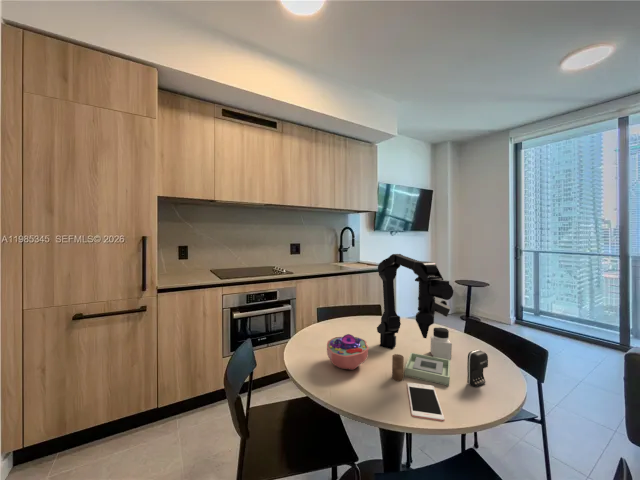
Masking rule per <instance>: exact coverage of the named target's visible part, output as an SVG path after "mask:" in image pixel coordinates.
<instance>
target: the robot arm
mask: <svg viewBox="0 0 640 480" xmlns="http://www.w3.org/2000/svg"><path fill="white" fill-rule="evenodd" d="M401 267H404V268H406V269H409V270H412V271H413V273H414V275H416V276H417V277H416V278H415V279H414V281H415V282H418V296H417V300H418V302H417V303H418V307H417V313H416V314H415V323H416V324H417V326H418V328H419V330H420V333H421V335H422V338H423V339H427V338H428V333H429V329H430V327H431V326H432V325H434V323H435V314H436V313H438V314H441V315H442V316H443V317H448V316H449V313H450V311H451V307H450V305H448V304H447V303H448V302H447V301H449V300H451V299H452V297H453V296H454V288H453V287H452V285H451V284H450V280H444V278H443V276H442V274H441V272H440V270H439V268H438V266H437V264H436V263H435V261H434V262H433V261H424V260H418V259H414V258H412V257H409V256H405V255H403V254H401V253H393V254H391V255H390V256H388V257H387V258H385V259H383V260H381V261H380V262H379V264H378V265H377V271H378V276H379V277H380V279H381V280H382V293H383V295H382V296H383V313H382V315H381V319H380V323H379V324H378V325H377V327H376V333H378V334H380V335H379V336H380V340H379V344H378V345H379V346H378V347H379V348H380V347H381V348H385V349H391V350H393V349H394V348H395V347H396V345H397V336H396V334H399V330H400V329H401V325H402V323H401V316H400V315H398V314H397V312H396V303H395V302H396V301H395V300H396V299H395V286H394V285H395V284H394V282H395V278H396V277H397V271H398V269H400V268H401ZM436 298H437V299H441V301H438V300H436Z"/></svg>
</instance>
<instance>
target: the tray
mask: <svg viewBox="0 0 640 480" xmlns="http://www.w3.org/2000/svg"><path fill="white" fill-rule="evenodd" d="M404 376H405V377H409V378H413V379H418V380H421V381H426V382H430V383H435V384H439V385H442V386H448V387H449V386H450V379H451V360H448V359H442V358H437V357H433V356H432V355H426V354H422V353H415V352H410V354H409V356H408V359H407V362H406V364H405V366H404Z"/></svg>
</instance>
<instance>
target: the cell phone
mask: <svg viewBox="0 0 640 480" xmlns="http://www.w3.org/2000/svg"><path fill="white" fill-rule="evenodd" d="M406 387H407V393H408V400H409V405H410V413H411V416H412V417H414V418H419V419H424V420H425V419H427V420H432V421H440V422H445V415H444V413H443V410H442V407H441V403H440V401H439V398H438V395H437V392H436V388H435V386H434V385H430V384H423V383H414V382H407V383H406Z"/></svg>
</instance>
